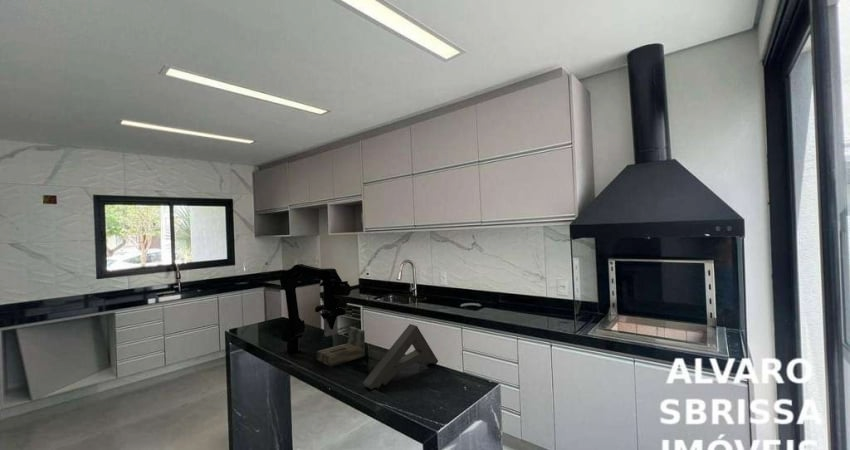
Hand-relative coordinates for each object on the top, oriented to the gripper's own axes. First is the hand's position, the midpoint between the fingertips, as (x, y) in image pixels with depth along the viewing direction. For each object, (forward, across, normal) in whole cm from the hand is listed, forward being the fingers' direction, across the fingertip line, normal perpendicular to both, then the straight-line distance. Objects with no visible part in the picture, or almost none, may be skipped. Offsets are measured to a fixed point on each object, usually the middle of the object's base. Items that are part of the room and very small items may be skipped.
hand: (330, 328), depth 162 cm
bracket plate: (+3, 0, 0) cm, 3 cm away
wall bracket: (+15, -40, -10) cm, 44 cm away
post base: (+14, -4, -3) cm, 15 cm away
